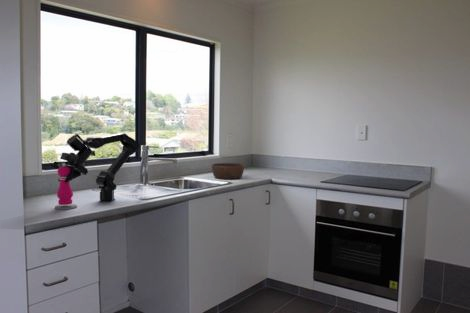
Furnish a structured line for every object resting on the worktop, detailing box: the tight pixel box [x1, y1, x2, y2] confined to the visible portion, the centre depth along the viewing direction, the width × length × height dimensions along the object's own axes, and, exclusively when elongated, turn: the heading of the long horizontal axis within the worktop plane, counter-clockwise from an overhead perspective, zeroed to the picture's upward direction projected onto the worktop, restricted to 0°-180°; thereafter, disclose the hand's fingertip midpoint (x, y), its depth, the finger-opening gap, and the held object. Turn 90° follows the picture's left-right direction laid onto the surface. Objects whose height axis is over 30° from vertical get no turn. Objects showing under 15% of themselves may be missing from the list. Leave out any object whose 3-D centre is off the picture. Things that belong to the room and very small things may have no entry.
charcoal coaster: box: [54, 203, 78, 211], centre depth 202 cm, size 10×10×1 cm
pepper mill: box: [56, 163, 74, 205], centre depth 200 cm, size 7×7×20 cm
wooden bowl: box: [211, 162, 245, 180], centre depth 315 cm, size 25×25×10 cm
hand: (61, 181), depth 199 cm, fingers closed on pepper mill, 5 cm apart
